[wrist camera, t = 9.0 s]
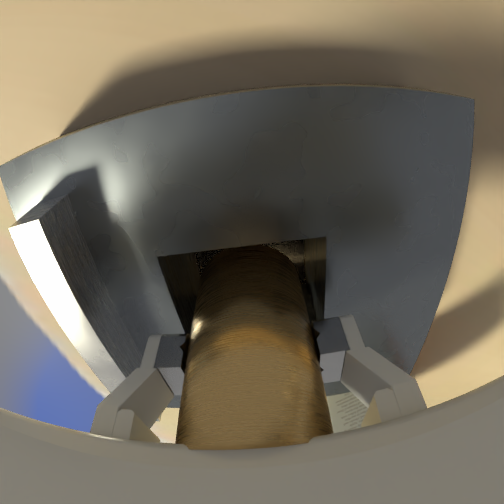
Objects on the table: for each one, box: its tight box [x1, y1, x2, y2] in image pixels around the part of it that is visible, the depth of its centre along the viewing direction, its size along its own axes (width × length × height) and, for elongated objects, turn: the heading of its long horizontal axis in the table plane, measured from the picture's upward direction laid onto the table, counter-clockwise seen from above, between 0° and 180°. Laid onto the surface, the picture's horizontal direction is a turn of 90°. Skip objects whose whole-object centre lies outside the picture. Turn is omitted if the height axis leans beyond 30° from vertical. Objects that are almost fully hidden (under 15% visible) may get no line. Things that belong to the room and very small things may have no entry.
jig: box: [0, 84, 474, 421], centre depth 13 cm, size 18×16×7 cm
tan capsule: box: [175, 244, 334, 450], centre depth 10 cm, size 4×4×8 cm
